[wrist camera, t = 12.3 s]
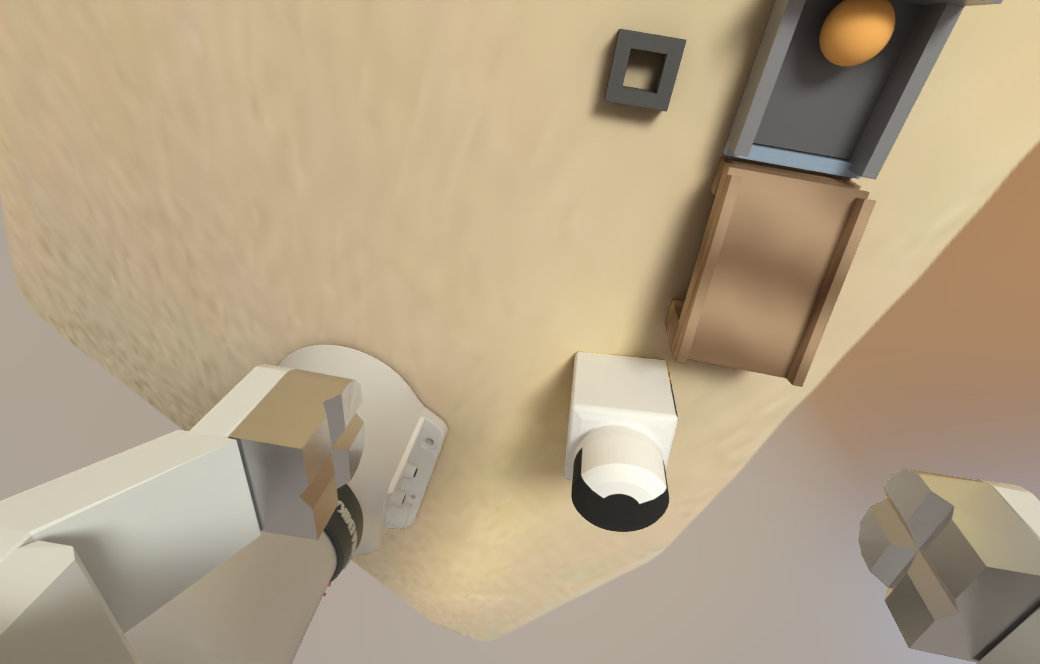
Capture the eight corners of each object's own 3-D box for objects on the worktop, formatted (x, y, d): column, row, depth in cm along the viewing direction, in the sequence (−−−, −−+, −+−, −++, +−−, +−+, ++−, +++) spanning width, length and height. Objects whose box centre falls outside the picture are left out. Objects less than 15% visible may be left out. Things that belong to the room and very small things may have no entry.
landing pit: (854, 176, 31) (894, 199, 26) (722, 152, 31) (741, 172, 27) (949, -21, 25) (1019, -31, 21) (790, -46, 26) (827, -61, 22)
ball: (842, 19, 28) (826, 80, 28) (818, -10, 26) (801, 57, 26) (912, 3, 25) (893, 70, 26) (891, -30, 23) (871, 43, 24)
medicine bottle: (652, 428, 43) (668, 552, 33) (568, 418, 44) (558, 537, 33) (667, 358, 39) (690, 474, 29) (575, 349, 40) (566, 459, 30)
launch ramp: (772, 343, 37) (799, 392, 32) (664, 322, 38) (674, 367, 32) (851, 180, 31) (900, 210, 26) (721, 157, 31) (743, 182, 26)
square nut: (663, 108, 30) (666, 111, 29) (604, 97, 30) (604, 100, 29) (682, 39, 28) (686, 39, 27) (619, 28, 29) (620, 28, 27)
